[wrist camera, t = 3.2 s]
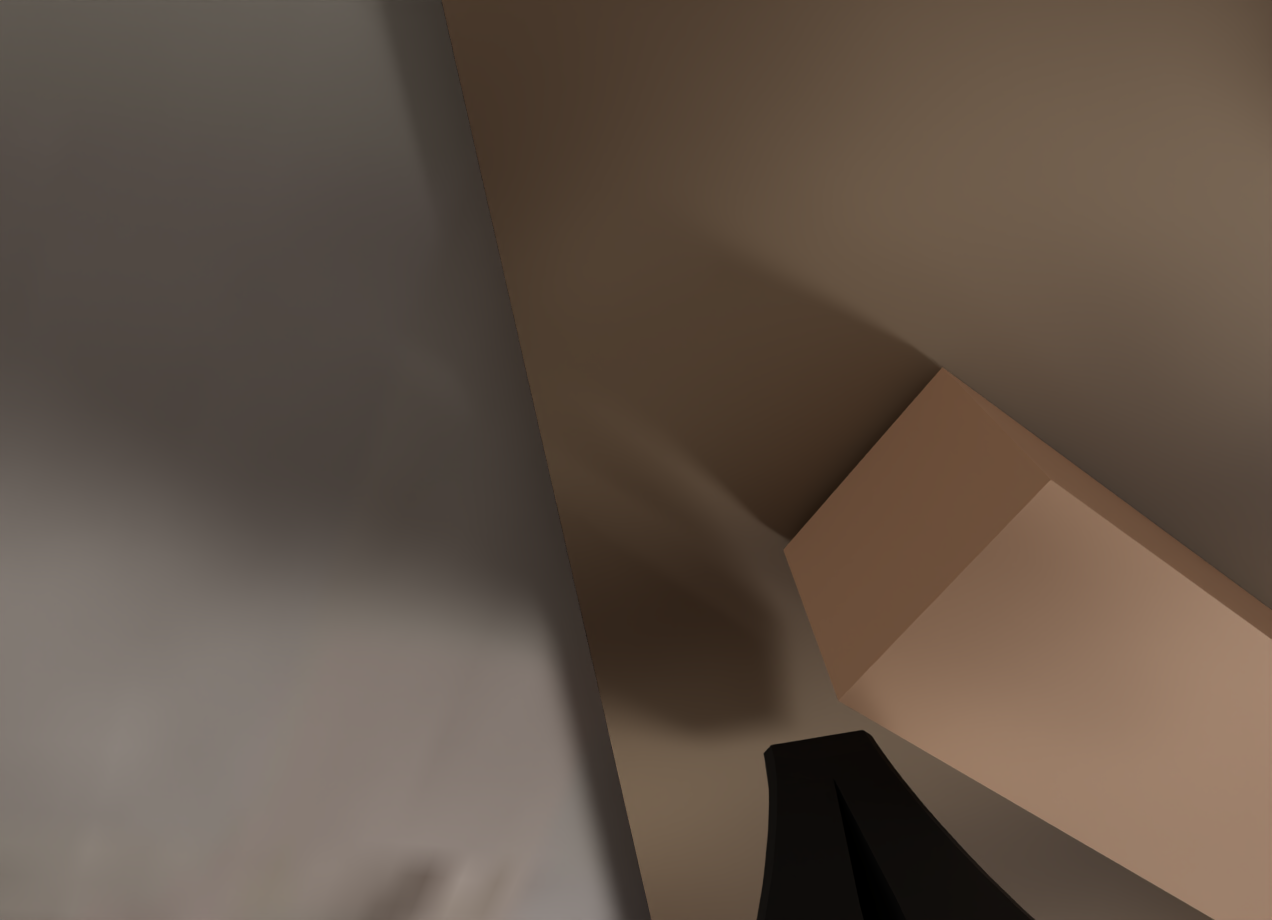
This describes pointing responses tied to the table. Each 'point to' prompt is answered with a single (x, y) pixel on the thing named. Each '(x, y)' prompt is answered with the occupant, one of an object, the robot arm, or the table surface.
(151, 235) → the table surface
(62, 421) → the table surface
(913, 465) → the pivot arm
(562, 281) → the walnut plate
